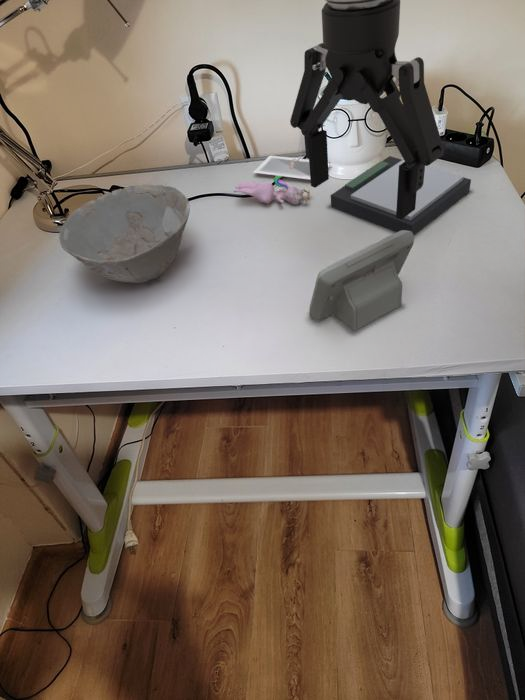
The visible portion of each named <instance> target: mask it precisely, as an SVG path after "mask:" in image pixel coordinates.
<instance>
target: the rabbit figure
mask: <svg viewBox="0 0 525 700" xmlns="http://www.w3.org/2000/svg"><path fill="white" fill-rule="evenodd" d="M281 178H283V176H277V175H275V177H274V178H273V183H274V184H275V186H276V187H278V188H280V189H279V190H275V187H274V185H273V184H272V183H270V182H268V181H261V182H255V181H249V180H248V181H243V182H241V183H239V184H237V185H236V186H234V190H233V193H242V194H245V195H248V196H251V197H254V198H256V200H258V201H259V202H262V203H263V204H264V203H265V204H270V203H271V202H273V201H275V199H277V201H278V202H279V203H281V204H284V202H285V201H287V202H288V203H290V204H292V205H294V206H296V205H297V206H298V205H300V203H301V201H302V200H305V205H306V206H308V200H309V198H310V195H311V192H310V191H311V190H310V189H308V190H306V189H305V188H303V189H299V188H298V187H296V186H290V185H289V184H288V183H287V182H285V181H284V180H282V179H281ZM304 193H306V194H307V196H306V197H305V196H303V195H304Z"/></svg>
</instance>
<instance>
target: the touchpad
mask: <svg viewBox="0 0 525 700" xmlns="http://www.w3.org/2000/svg"><path fill="white" fill-rule="evenodd" d="M252 173H253V174H254V173H255V174H261V175H269V176H282V177H286V178H294V179H301V180H310V181H311V179H310V166H309V159H308V158H296V157H289V156H278V155H269V156H267V158H266V159H265V160H263V161H262V163H260V165H259V166H258V167H257V168H256V169H255V170H254V171H253V172H252Z"/></svg>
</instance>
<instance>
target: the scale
mask: <svg viewBox="0 0 525 700" xmlns="http://www.w3.org/2000/svg"><path fill="white" fill-rule="evenodd" d="M404 162H405V160H404V159H403V158H402V159H401V158H398V157H395V156H391V155H389V156H388V157H386V158H384V159H383V160H380V161H379V162H377V163H376V164H374V165H372V166H371V167H369V168H368V169H366V170H365V171H364V172H362V173H360V174H358V175H357V176H356V177H354V178H353V179H351V180H350V181H348V182H347V183H345V184H344V185H343V186H342V187H341V188H339V189H338V190H336V191H335V192H332V194H330V207H331V208H333V209H336V210H338V211H340V212H343V213H346V214H348V215H351V216H354V217H357V218H358V219H361V220H363V221H367V222H370V223H372V224H374V225H377V226H380V227H382V228H385V229H386V230H390V231H392V232H395V233H397V232H399V231H401V230H406V231H411V232H412V233H413V235H414V236H415V235H417V234H418V233H419V232H420V231H422V230H423V229H424V228H426V227H427V226H428V225H429V224H430V223H433V221H434V220H436V219H437V218H438V217H439V216H440V215H442V214H443V213H445V212H446V211H447V210H448V209H449V208H451V207H452V206H453V205H454V204H456V203H458V202H459V201H460V200H461V199H463V197H465V196H466V195H467V194H468V193H470V189H471V183H472V179H470V178H467V177H464V175H461V174H457V173H453V172H450V171H447V170H444V169H439V168H437V167H434V166H430V165H428V166H425V172H424V182H423V186H422V188H421V189H419V190H418V191H417V194H416V205H415V210H414V211H412V212H411V213H410V214H408V215H407V216H406V217H404V218H403V219H402V220H401V219H398V218H396V209H397V192H398V175H399V165H401V164H402V163H404Z"/></svg>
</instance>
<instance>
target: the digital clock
mask: <svg viewBox="0 0 525 700" xmlns="http://www.w3.org/2000/svg"><path fill="white" fill-rule="evenodd" d="M414 243H415V235H413V233H412V232H411V231H406V230H401V231H399V232H395V233H393V234H390V235H388V236H386V237H385V238H383V239H380V240H378V241H377V242H374V243H373V244H370V245H368V246H366V247H364V248H362V249H360V250H358V251H356V252H355V253H353V254H350V255H348V256H346V257H344V258H342V259H340V260H337V261H336V262H335V263H332V264H330V265H328V266H326V267H324V268H322V269H321V270H320V271H319V272H318V273H317V276H316V280H315V285H314V288H313V292H312V296H311V300H310V304H309V310H308V311H309V312H308V315H309V318H310V319H311V320H314V321H316V322H317V321H319V322H320V321H323V320H325V319H327V318H329V317H331V316H333V315H334V316H335V317H336V318H337V319H338V320H339V321H341V323H343V324H344V325H345V326H346V327H347V328H349V329H350V331H352V332H355V331H357V330H359V329H361V328H362V327H364V326H366V325H368V324H370V323H372V322H374V321H375V320H377V319H378V318H380V317H383V316H384V315H386V314H388V313H390V312H391V311H393V310H395V309H397V308H398V307H402V301H403V299H402V297H403V281H402V280H401V278H400V277H399V275H400V273H401V271H402V268H403V266H404V264H405V262H406V260H407V258H408V256H409V254H410V252H411V250H412V247H413V246H414Z"/></svg>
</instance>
